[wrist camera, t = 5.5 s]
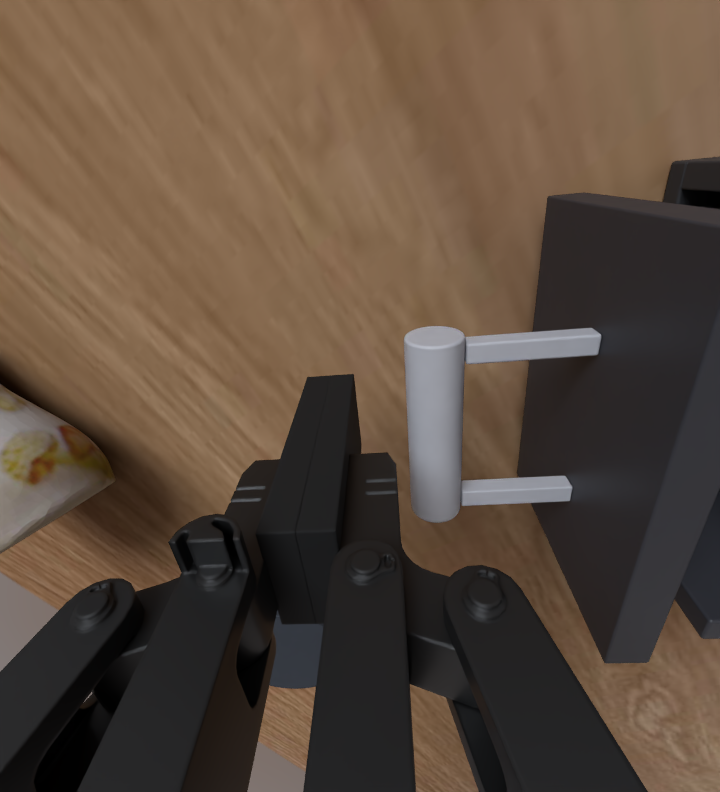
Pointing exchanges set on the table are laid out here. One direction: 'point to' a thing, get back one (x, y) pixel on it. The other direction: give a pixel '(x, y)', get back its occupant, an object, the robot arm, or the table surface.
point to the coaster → (296, 654)
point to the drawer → (601, 414)
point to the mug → (42, 468)
